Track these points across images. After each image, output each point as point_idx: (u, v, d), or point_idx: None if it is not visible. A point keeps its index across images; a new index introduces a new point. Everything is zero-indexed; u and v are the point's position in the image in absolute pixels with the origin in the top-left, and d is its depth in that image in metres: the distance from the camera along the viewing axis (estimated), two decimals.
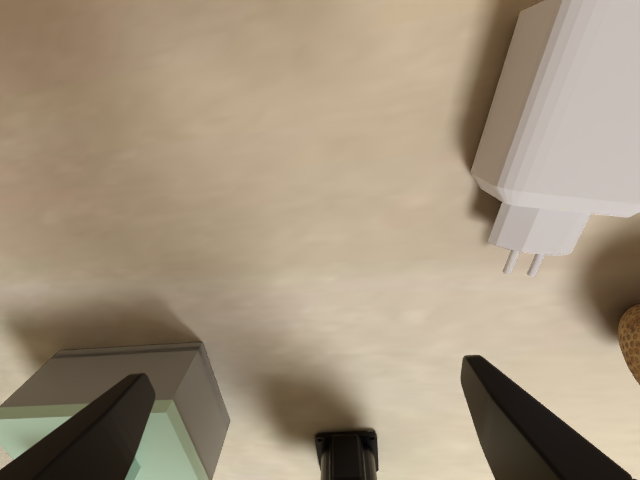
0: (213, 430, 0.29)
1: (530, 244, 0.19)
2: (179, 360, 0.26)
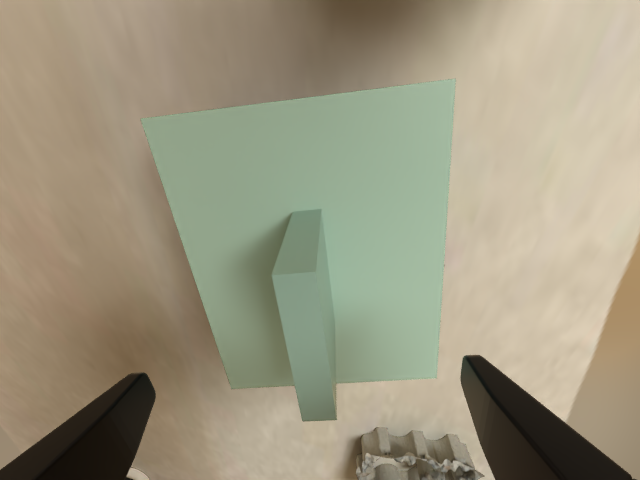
0: None
1: None
2: None
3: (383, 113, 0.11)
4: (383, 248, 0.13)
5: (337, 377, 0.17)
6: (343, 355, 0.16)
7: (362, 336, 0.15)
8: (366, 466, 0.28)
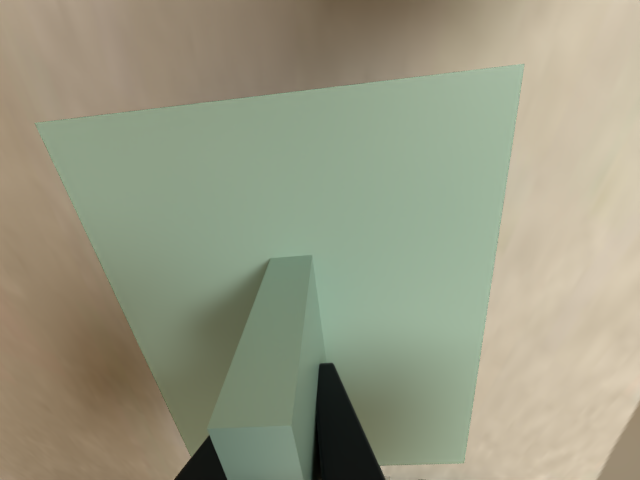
0: None
1: None
2: None
3: (407, 117, 0.07)
4: (400, 308, 0.09)
5: None
6: None
7: (367, 414, 0.12)
8: None
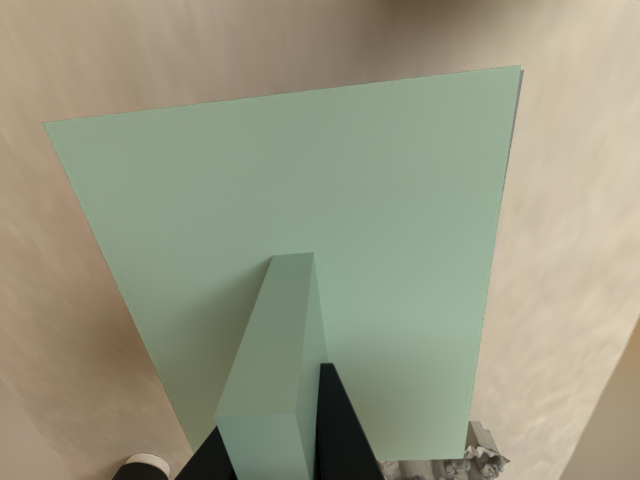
0: None
1: None
2: None
3: (407, 117, 0.07)
4: (400, 304, 0.10)
5: None
6: None
7: (368, 410, 0.12)
8: None
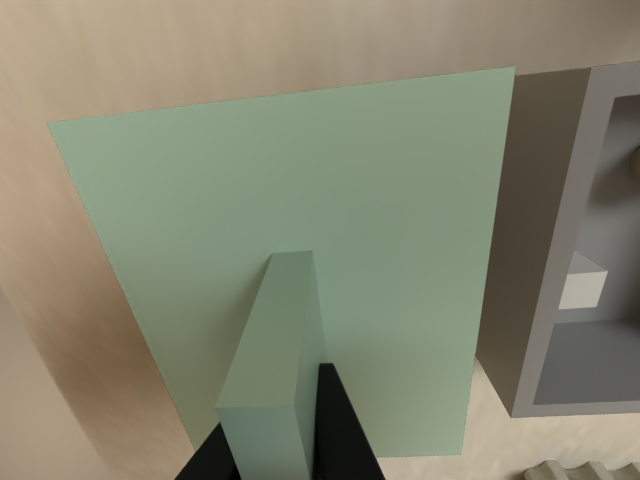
0: None
1: None
2: None
3: (404, 117, 0.07)
4: (397, 302, 0.10)
5: None
6: None
7: (367, 407, 0.12)
8: None
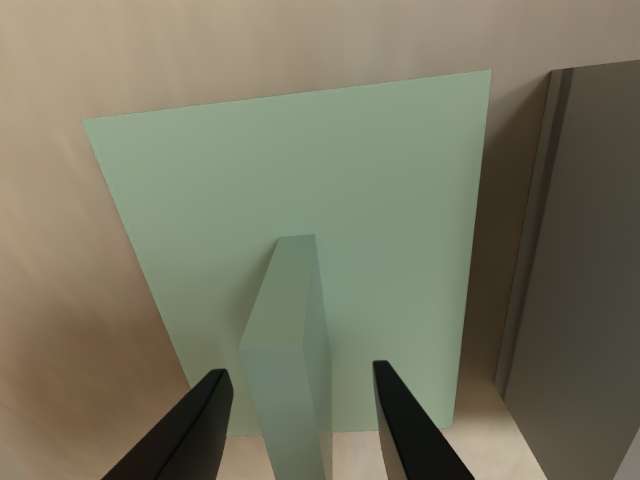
0: None
1: None
2: (592, 114, 0.08)
3: (396, 114, 0.08)
4: (392, 281, 0.11)
5: (334, 425, 0.14)
6: (342, 401, 0.13)
7: (364, 381, 0.13)
8: None
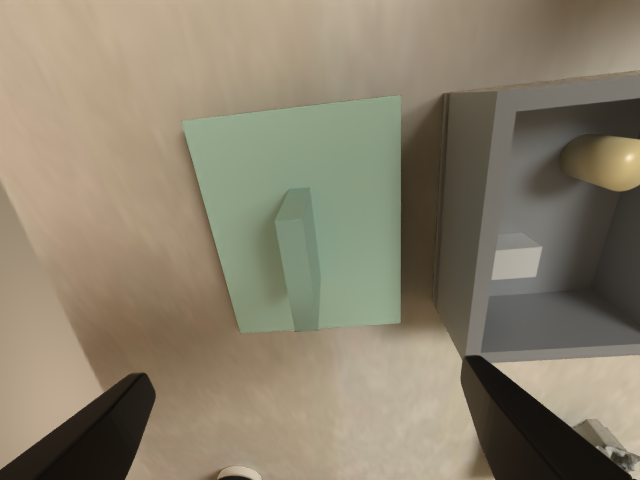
0: None
1: None
2: (456, 118, 0.16)
3: (352, 118, 0.16)
4: (355, 217, 0.18)
5: (323, 323, 0.21)
6: (328, 303, 0.21)
7: (342, 288, 0.20)
8: None
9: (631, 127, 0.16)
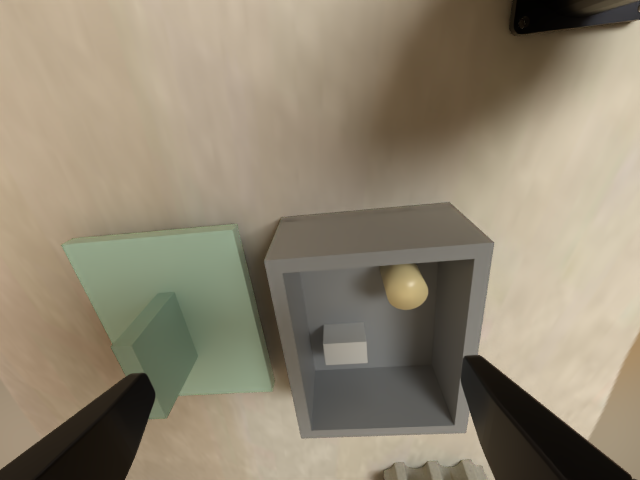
0: (414, 222, 0.17)
1: None
2: None
3: (197, 245, 0.19)
4: (216, 313, 0.22)
5: (208, 390, 0.25)
6: (208, 376, 0.24)
7: (217, 364, 0.24)
8: None
9: None
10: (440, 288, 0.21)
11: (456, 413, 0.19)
